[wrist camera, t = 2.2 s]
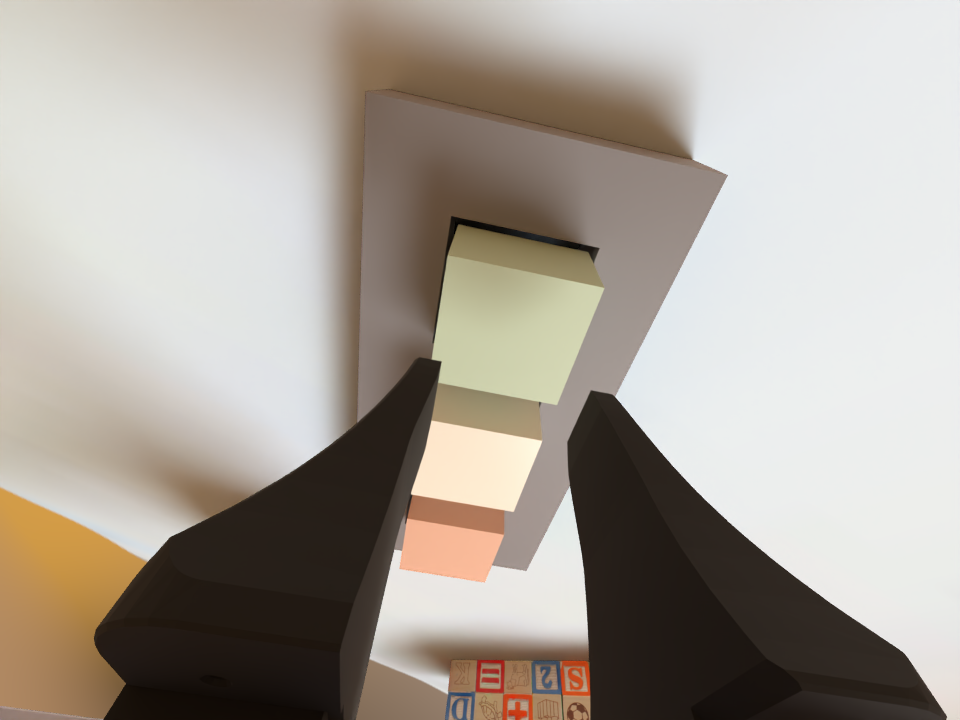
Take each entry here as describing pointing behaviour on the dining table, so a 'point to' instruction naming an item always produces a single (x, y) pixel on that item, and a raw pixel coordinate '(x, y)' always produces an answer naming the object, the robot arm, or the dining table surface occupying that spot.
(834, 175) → the dining table surface
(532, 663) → the stack of blocks
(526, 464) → the cream key
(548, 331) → the green key
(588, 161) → the board
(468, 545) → the terracotta key
